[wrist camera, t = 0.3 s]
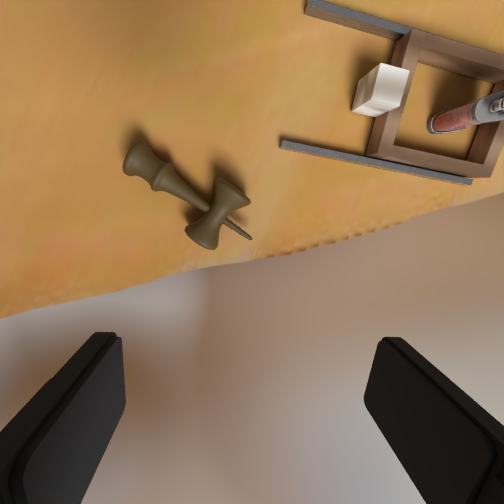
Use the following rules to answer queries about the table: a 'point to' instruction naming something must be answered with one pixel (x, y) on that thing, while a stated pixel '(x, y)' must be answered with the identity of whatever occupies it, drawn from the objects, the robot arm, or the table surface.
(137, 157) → the kendama
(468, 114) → the lighter
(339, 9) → the guide rails
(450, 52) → the sliding frame
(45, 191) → the table surface
